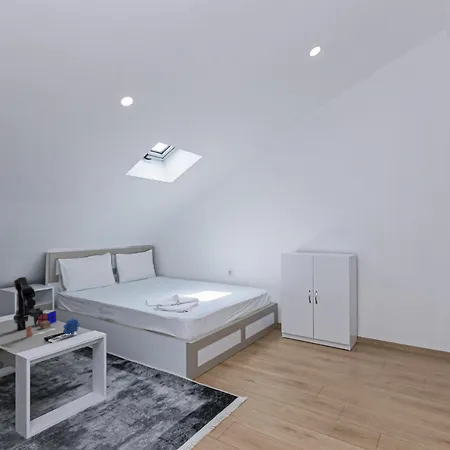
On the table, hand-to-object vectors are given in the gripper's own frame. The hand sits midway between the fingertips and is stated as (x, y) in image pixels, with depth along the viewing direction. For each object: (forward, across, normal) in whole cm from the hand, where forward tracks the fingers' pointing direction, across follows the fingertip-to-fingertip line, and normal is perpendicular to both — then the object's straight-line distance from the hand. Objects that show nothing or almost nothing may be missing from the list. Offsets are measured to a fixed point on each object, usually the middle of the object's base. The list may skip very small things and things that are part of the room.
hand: (29, 326), depth 253 cm
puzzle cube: (+9, +28, +23) cm, 37 cm away
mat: (+8, +16, +9) cm, 20 cm away
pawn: (+7, 0, 0) cm, 7 cm away
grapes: (+8, +18, -23) cm, 30 cm away
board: (+8, +9, 0) cm, 12 cm away
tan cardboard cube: (+8, +18, +10) cm, 22 cm away
